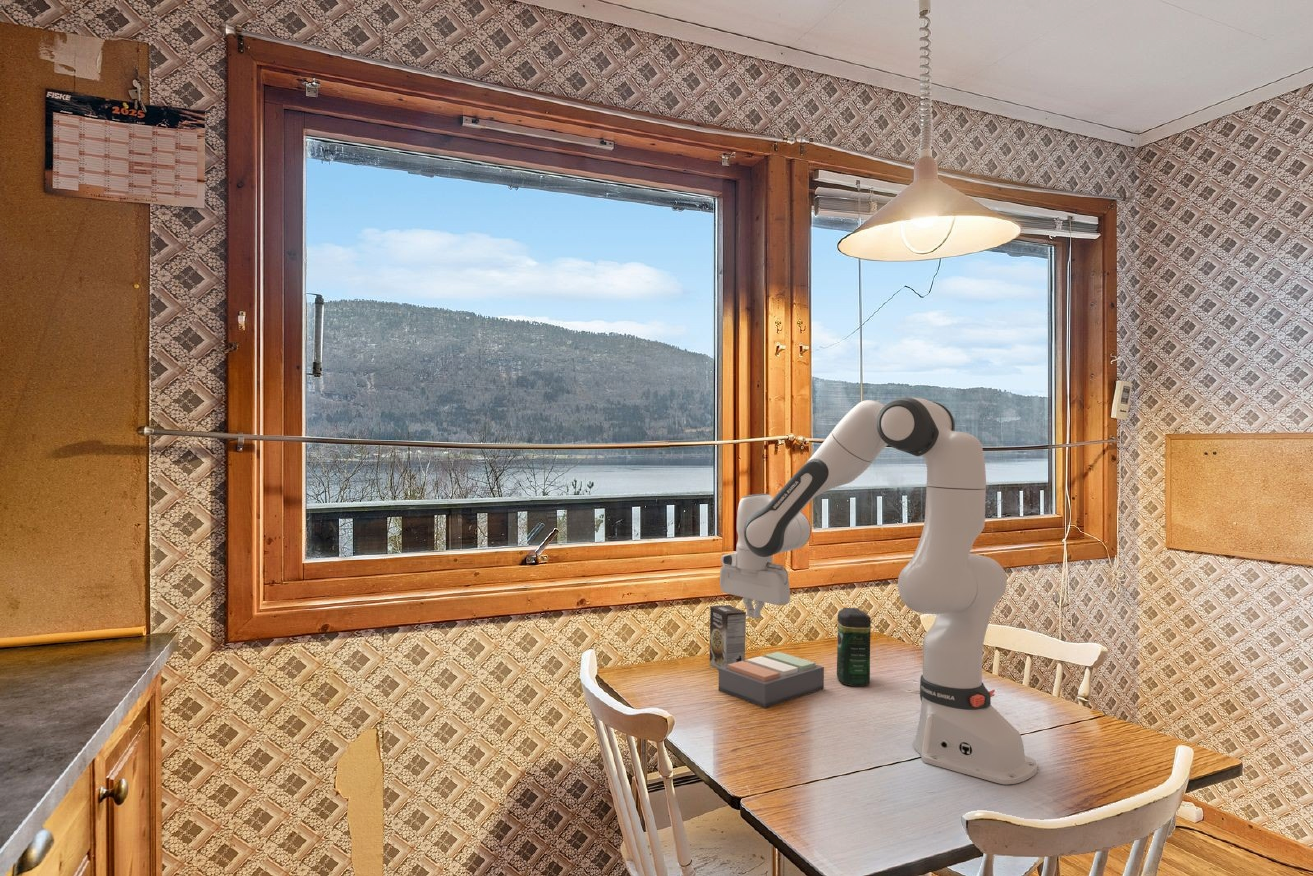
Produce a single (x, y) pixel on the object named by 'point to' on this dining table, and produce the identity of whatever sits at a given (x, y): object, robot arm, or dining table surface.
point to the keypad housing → (771, 686)
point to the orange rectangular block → (753, 671)
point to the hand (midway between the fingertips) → (753, 617)
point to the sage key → (791, 660)
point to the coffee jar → (853, 647)
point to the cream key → (773, 665)
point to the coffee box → (727, 635)
